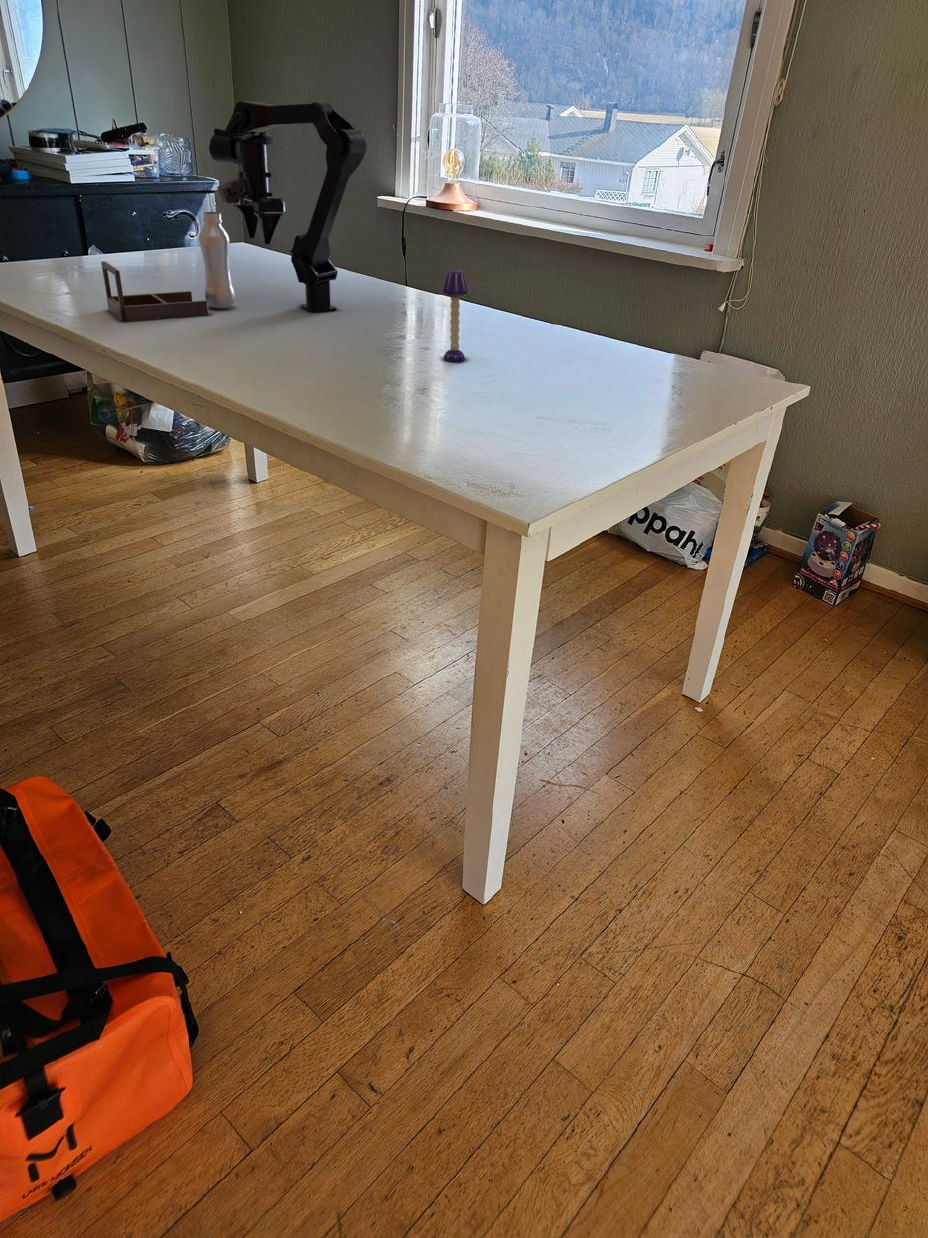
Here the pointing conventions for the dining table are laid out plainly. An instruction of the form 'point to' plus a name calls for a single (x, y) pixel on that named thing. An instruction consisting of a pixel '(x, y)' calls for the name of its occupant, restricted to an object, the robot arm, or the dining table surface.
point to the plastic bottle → (216, 262)
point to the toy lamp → (455, 311)
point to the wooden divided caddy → (149, 302)
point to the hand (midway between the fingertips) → (259, 240)
